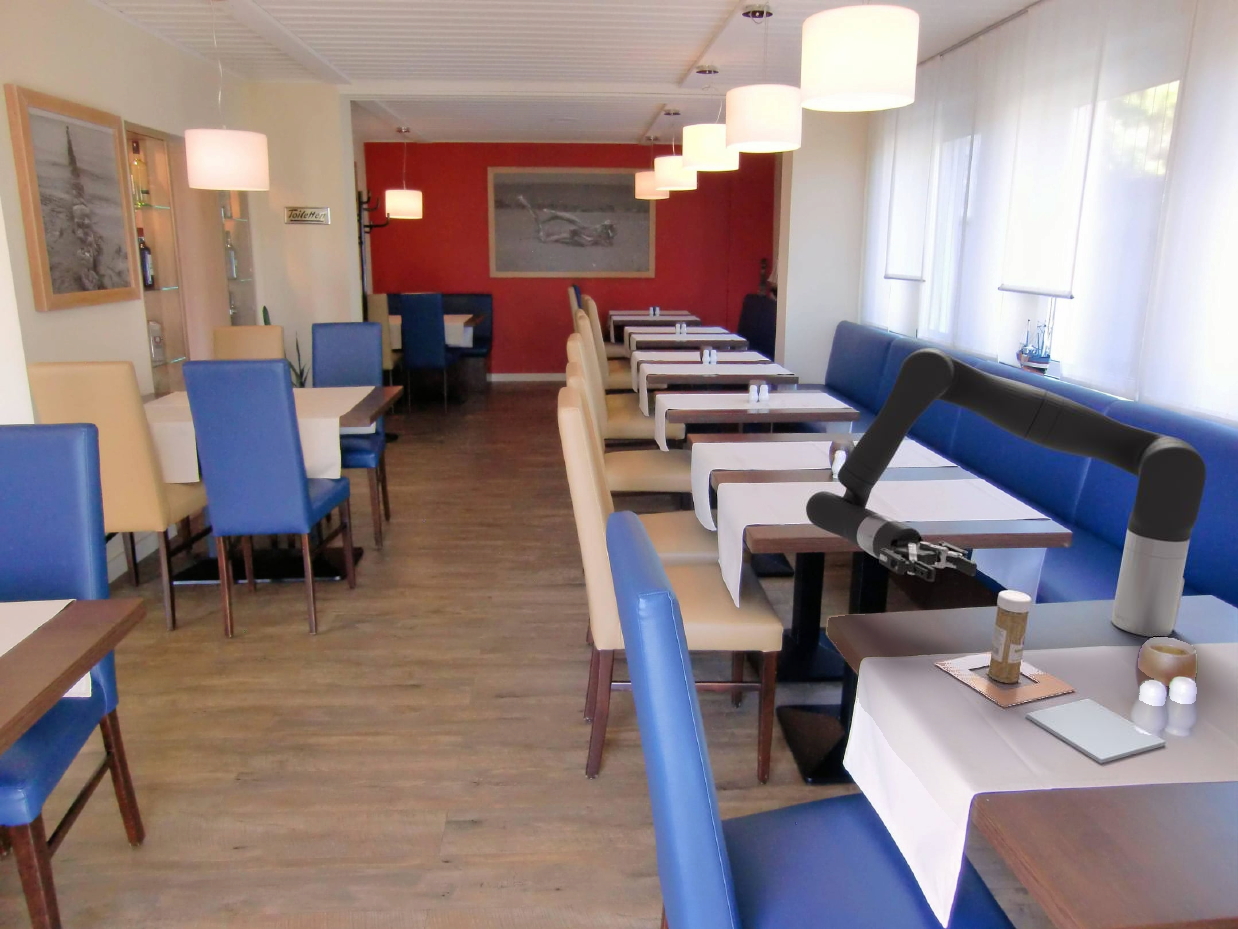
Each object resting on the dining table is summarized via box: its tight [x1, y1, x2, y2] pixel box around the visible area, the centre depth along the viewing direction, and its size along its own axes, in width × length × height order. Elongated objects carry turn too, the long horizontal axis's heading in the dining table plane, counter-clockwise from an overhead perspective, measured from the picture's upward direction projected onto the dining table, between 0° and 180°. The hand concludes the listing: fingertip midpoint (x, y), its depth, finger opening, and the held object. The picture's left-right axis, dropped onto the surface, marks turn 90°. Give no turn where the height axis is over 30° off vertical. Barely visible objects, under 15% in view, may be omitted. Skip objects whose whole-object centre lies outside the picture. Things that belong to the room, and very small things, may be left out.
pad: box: [1025, 698, 1166, 765], centre depth 120 cm, size 12×12×1 cm
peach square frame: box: [936, 651, 1076, 708], centre depth 135 cm, size 14×14×1 cm
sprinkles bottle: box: [987, 589, 1032, 684], centre depth 133 cm, size 5×5×13 cm
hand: (954, 573), depth 142 cm, fingers open, 8 cm apart
